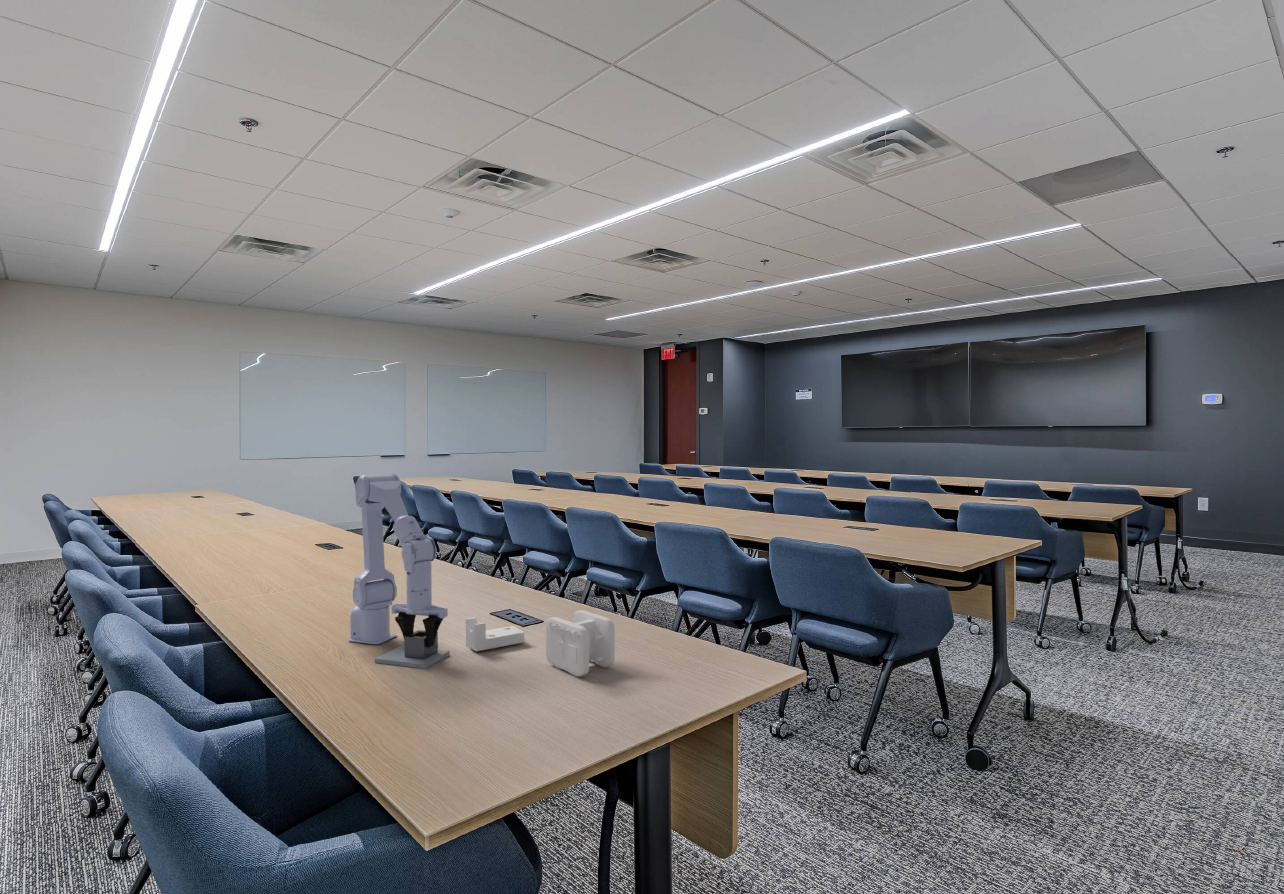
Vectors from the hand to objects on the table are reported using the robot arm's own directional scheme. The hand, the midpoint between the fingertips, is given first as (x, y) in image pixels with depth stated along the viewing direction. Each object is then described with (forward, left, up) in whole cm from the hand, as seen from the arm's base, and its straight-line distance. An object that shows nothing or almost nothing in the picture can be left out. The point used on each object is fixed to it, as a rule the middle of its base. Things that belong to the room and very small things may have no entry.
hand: (419, 644), depth 163 cm
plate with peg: (-2, 0, -4) cm, 4 cm away
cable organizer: (+39, +7, -4) cm, 40 cm away
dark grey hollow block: (0, +1, -3) cm, 3 cm away
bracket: (+12, +15, -4) cm, 20 cm away
